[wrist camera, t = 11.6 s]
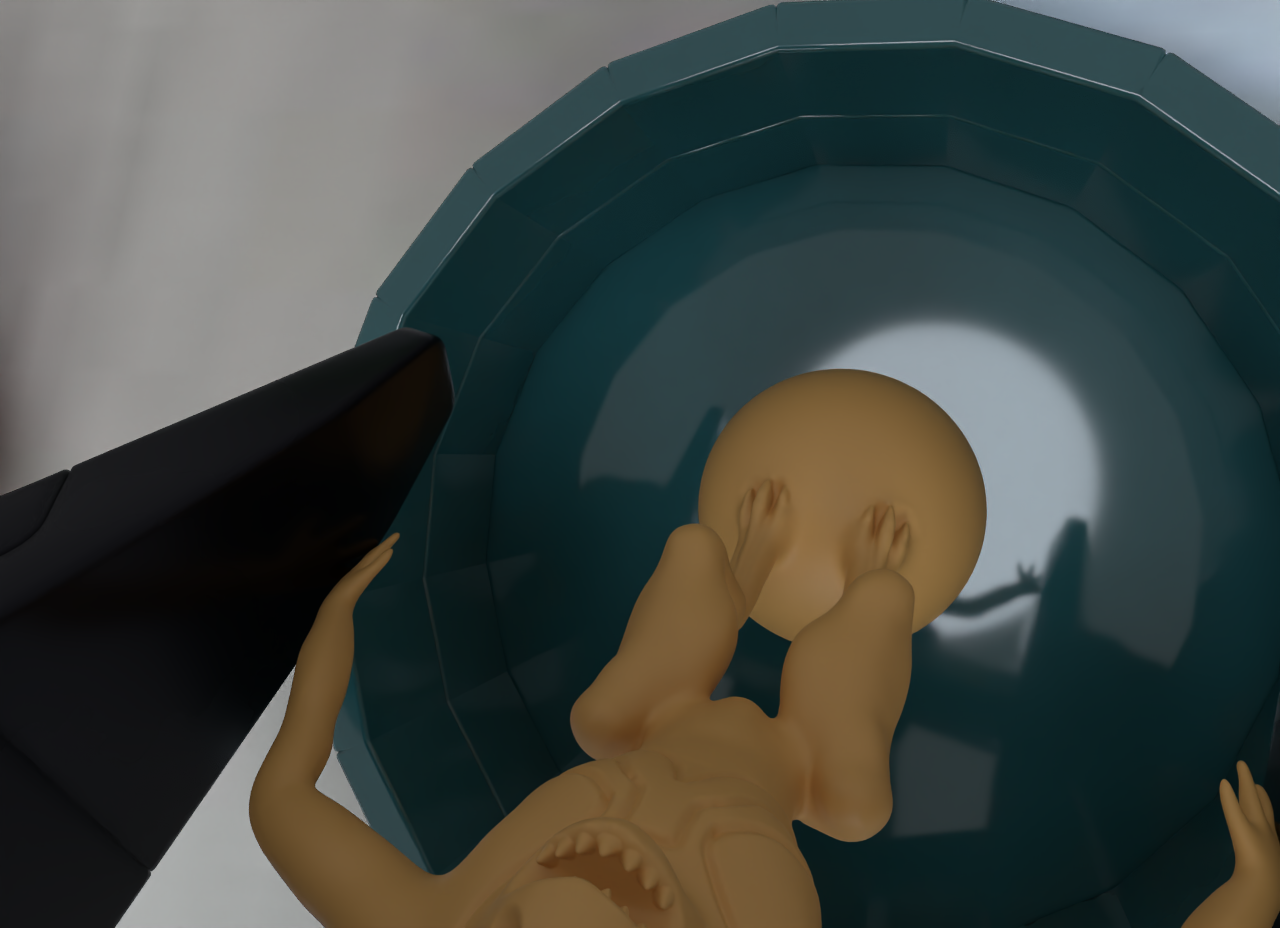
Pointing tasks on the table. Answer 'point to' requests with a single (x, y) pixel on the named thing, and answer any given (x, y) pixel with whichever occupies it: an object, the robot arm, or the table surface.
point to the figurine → (695, 725)
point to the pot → (885, 344)
